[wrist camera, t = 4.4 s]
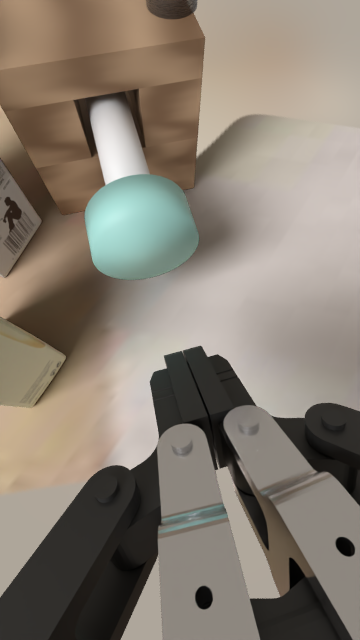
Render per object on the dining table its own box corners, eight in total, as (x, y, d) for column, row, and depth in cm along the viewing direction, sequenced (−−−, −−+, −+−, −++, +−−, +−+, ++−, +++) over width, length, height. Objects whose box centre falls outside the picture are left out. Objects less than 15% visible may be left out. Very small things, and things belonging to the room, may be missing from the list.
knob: (149, 124, 23) (140, 30, 18) (195, 267, 19) (203, 203, 14) (75, 138, 23) (42, 45, 17) (106, 288, 19) (76, 230, 13)
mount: (174, 133, 29) (172, -31, 18) (193, 187, 26) (205, 37, 16) (52, 156, 27) (-24, -5, 17) (62, 215, 25) (-18, 72, 15)
